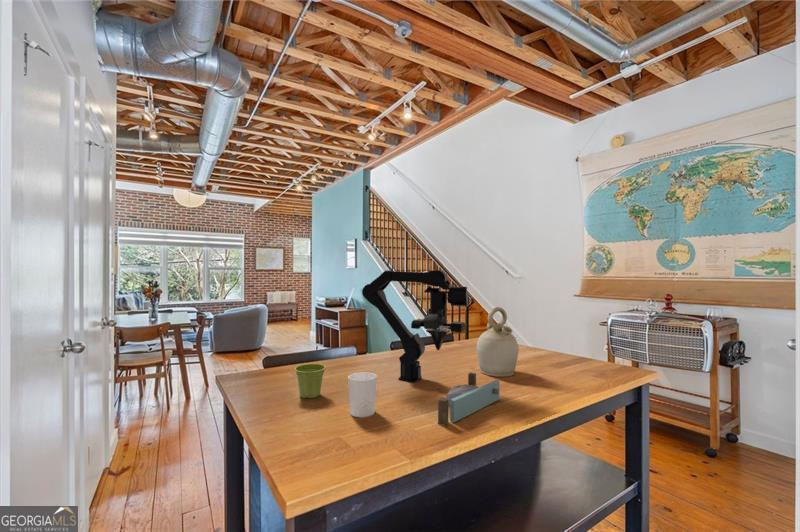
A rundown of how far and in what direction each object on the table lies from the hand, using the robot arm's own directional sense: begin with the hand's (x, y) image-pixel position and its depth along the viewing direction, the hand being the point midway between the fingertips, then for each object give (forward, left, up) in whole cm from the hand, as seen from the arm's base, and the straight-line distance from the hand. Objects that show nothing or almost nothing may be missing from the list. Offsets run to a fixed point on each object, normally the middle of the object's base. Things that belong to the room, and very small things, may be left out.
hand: (438, 349), depth 127 cm
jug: (+16, +21, -11) cm, 29 cm away
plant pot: (-30, -32, -11) cm, 45 cm away
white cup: (-8, -36, -11) cm, 39 cm away
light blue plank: (+14, -19, -11) cm, 26 cm away
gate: (+20, -20, -11) cm, 30 cm away
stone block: (+14, -14, -12) cm, 23 cm away
